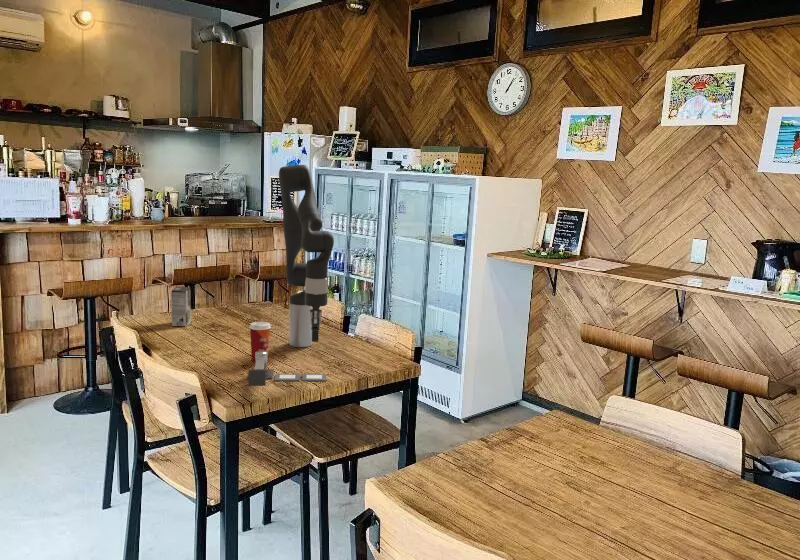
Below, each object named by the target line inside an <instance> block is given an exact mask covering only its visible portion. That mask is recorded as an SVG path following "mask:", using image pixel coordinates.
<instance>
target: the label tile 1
mask: <svg viewBox="0 0 800 560" xmlns="http://www.w3.org/2000/svg"><path fill="white" fill-rule="evenodd" d="M300 375H301V374H300V373H276V374H275V378H274V382H300V377H301V376H300Z"/></svg>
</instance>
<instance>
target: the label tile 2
mask: <svg viewBox="0 0 800 560" xmlns="http://www.w3.org/2000/svg"><path fill="white" fill-rule="evenodd" d="M301 381H302V382H327V374H326V373H302V377H301Z"/></svg>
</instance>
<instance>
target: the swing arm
mask: <svg viewBox="0 0 800 560" xmlns="http://www.w3.org/2000/svg"><path fill="white" fill-rule="evenodd" d="M267 363H268V360H267V351H257V352H255V364H254V368H249V369H248V375H249V379H248V387H266V384H267V383H266V382H267V379H266V369H267V368H266V369H264V364H266V365H267Z"/></svg>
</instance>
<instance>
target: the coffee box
mask: <svg viewBox="0 0 800 560" xmlns="http://www.w3.org/2000/svg"><path fill="white" fill-rule="evenodd" d="M170 294H171V327H172V326H185V327H184V328H186V326H187V325H188V324H189V325H190V323H192V303H191V302H192V301H191V299H192V298H191V287H186V286H175V287H174V288H173V289H172V290H171V292H170ZM189 325H188V326H189ZM188 326H187V327H188Z"/></svg>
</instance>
